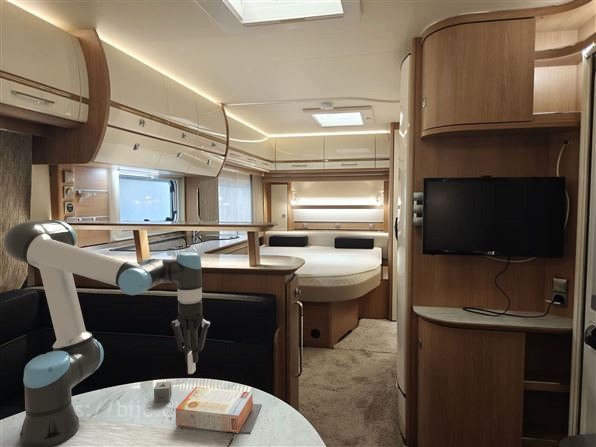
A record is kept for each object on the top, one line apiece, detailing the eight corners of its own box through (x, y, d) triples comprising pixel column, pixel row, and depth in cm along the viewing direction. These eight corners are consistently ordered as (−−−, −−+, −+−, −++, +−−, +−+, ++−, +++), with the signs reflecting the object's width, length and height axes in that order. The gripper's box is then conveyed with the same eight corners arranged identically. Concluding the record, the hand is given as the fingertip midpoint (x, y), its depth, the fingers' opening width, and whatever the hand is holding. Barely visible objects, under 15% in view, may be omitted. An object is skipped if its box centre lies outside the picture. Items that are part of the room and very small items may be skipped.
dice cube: (154, 403, 134) (153, 389, 134) (157, 395, 139) (156, 382, 139) (169, 401, 135) (168, 388, 135) (171, 394, 140) (171, 381, 140)
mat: (180, 428, 119) (180, 427, 119) (200, 401, 135) (200, 400, 135) (250, 433, 117) (250, 432, 117) (261, 405, 132) (261, 404, 132)
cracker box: (175, 426, 120) (238, 434, 116) (174, 408, 119) (238, 414, 115) (196, 403, 133) (253, 409, 129) (195, 386, 133) (253, 391, 129)
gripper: (213, 298, 127) (215, 367, 129) (175, 297, 129) (177, 366, 130) (205, 304, 120) (207, 378, 121) (165, 303, 121) (167, 376, 123)
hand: (191, 371), depth 126 cm, fingers closed
